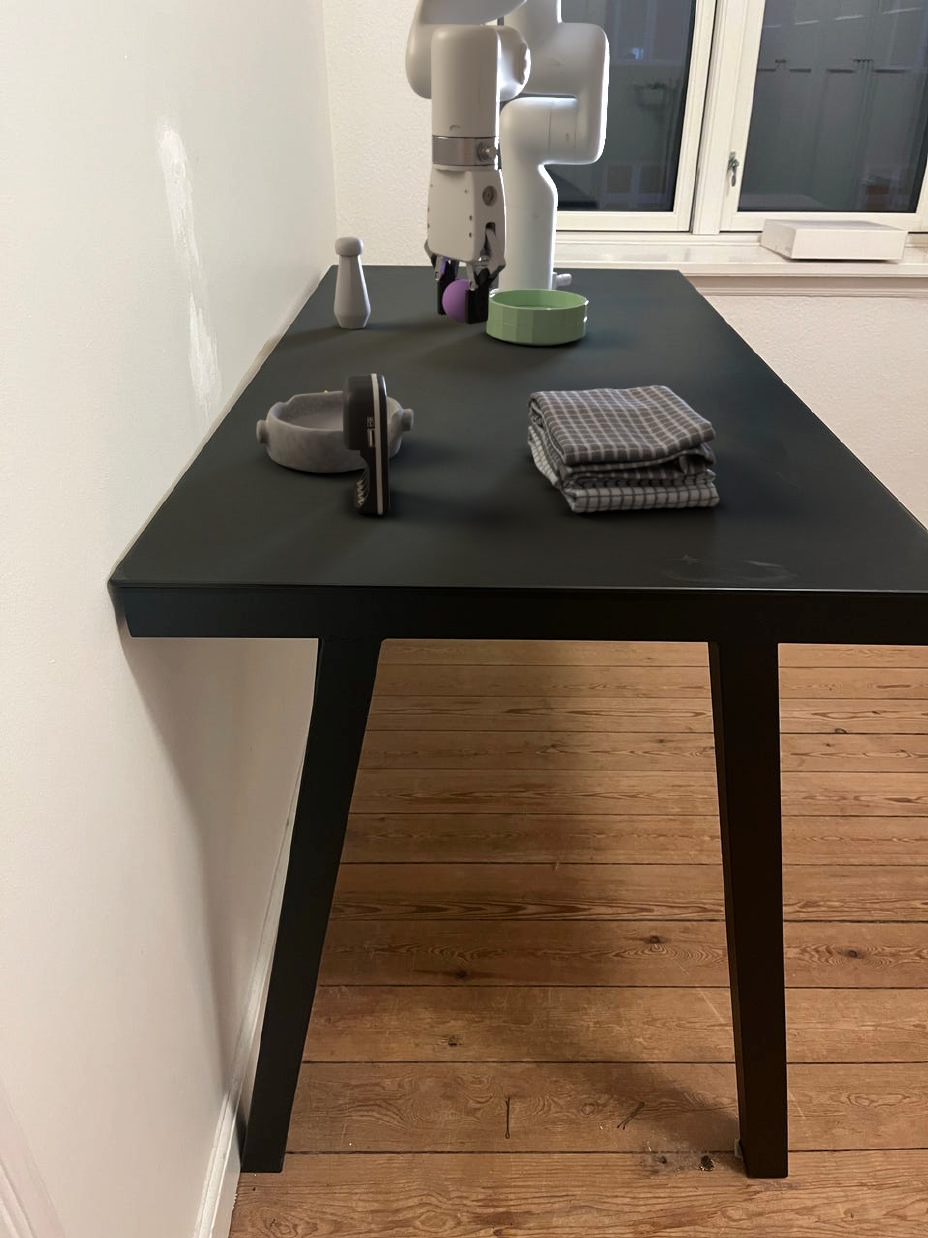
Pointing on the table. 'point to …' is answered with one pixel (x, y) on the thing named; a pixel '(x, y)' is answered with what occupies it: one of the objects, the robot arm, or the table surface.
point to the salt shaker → (350, 285)
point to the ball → (455, 300)
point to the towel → (622, 448)
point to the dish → (321, 433)
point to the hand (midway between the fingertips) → (462, 316)
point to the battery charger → (368, 439)
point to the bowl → (536, 316)
